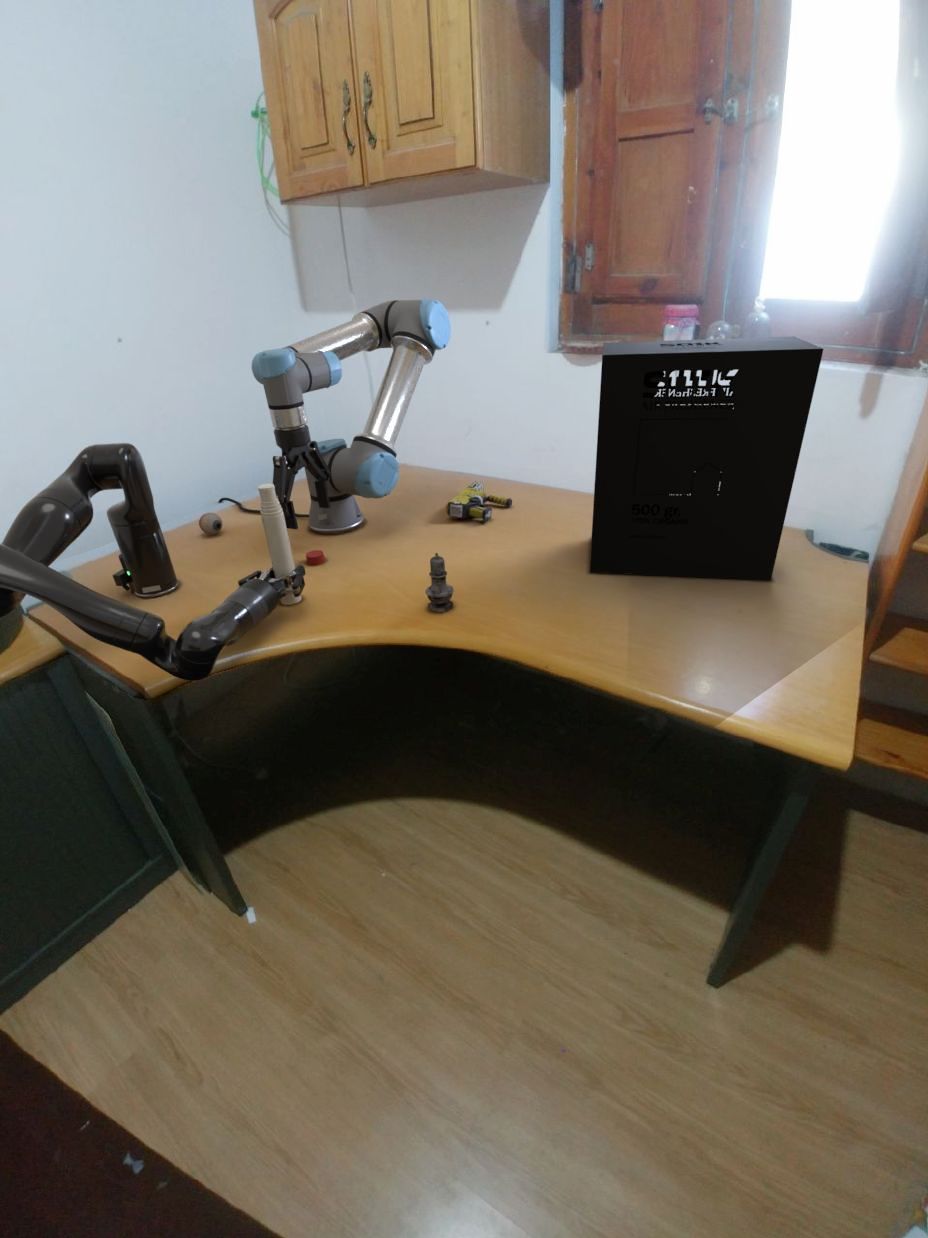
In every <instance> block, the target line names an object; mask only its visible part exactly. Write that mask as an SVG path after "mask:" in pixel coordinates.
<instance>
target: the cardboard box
mask: <svg viewBox="0 0 928 1238" xmlns="http://www.w3.org/2000/svg"><path fill="white" fill-rule="evenodd" d="M601 353H602V355H601V371H600V388H599V389H600V390H599V405H598V423H597V439H596V454H595V455H596V456H595V472H594V473H595V474H594V487H593V488H594V491H593V505H592V506H593V509H592V526H591V540H590V541H591V543H590V559H589V574H614V575H637V576H638V575H641V576H660V577H663V576H664V577H686V578H708V579H709V578H710V579H730V580H731V579H733V580H735V579H736V580H754V581H755V580H756V581H757V580H758V581H772V577H773V573H774V569H775V565H776V560H777V557H778V556H777V555H778V551H779V548H780V543H781V537H782V534H783V529H784V526H785V520H786V515H787V511H788V507H789V502H790V499H791V495H792V489H793V486H794V481H795V476H796V472H797V467H798V464H799V459H800V454H801V451H802V445H803V441H804V436H805V433H806V428H807V424H808V419H809V415H810V412H811V411H810V410H811V406H812V403H813V397H814V392H815V388H816V384H817V380H818V376H819V371H820V366H821V361H822V359H823V358H822V357H823V353H824V347H821V346H818V345H816V344H813V343H811V342H808V341H805V340H804V339H801V338H798V337H796V336H771V337H769V336H768V337H766V336H765V337H737V338H708V339H707V338H706V339H679V340H678V339H675V340H673V339H672V340H649V341H648V340H645V341H617V342H616V341H615V342H614V341H613V342H603V343H602V352H601ZM736 370H737V371H736ZM677 371H678V375H677V376H676V377H675V382H674V383H675V385H672V383H673V376H671V374H672V373H674V372H677ZM685 371H689V372H690V374H689V382H691V385H687V379H688V377H687V375H685ZM699 371H701V373H700V375H698V372H699ZM715 371H716V375H715ZM733 371H736V373H734V375H729V373H730V372H733ZM714 375H715V376H716V377H715V380H714ZM719 377H720V378H719ZM700 381H701V382H705V385H700ZM713 381H715V382H714V383H713ZM719 381H729V382H728V384H725V385H724V384H720V383H719ZM660 383H663V384H664V385H660Z"/></svg>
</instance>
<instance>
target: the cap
mask: <svg viewBox="0 0 928 1238" xmlns="http://www.w3.org/2000/svg"><path fill="white" fill-rule="evenodd" d="M305 558H306V563H307V565H309V566H318V565H321V564H323V563H325V561H326V559H325V553H324V551H323V550H320V549H314V550H310V551H308V552H306V553H305Z"/></svg>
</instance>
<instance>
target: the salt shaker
mask: <svg viewBox="0 0 928 1238" xmlns="http://www.w3.org/2000/svg"><path fill="white" fill-rule="evenodd" d="M429 566H430V572H429V573H428V575H429V577H430V581H431V583H430V584H431V585H430V586H428V587H426V589H425V590H424V592H425V595H426V596H427V599H428V600H429V601H430V602H428V603H427V604H428V606H427V608H428V609H429V610H430V611H432V612H435V613H443V612H448V611H450V610H451V609H453V607H454V603H453V601H452V600H451V599H452V597H453V593H454V591H455V589H454V587H453V586H452V585H450V584H448V583H447V575H448V572H447V571H446V565H445V559H444V558H443V556H440V555H439V553H438V552H435V554H434V556H432V557H431V558H430V559H429Z"/></svg>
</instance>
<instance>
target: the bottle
mask: <svg viewBox="0 0 928 1238" xmlns="http://www.w3.org/2000/svg"><path fill="white" fill-rule="evenodd" d="M257 491H258V493H259V497H260V501H259V503H260V504H259V506H260V508H259V510H261V511H260V512H261V513H260V519H261V522H262V526H263V531H264V535H265V540H266V544H267V548H268V553H269V557H270V561H271V565H272V567H273V570H274V574H275V578H277V577H279V576H281V575H283V574H286V575H288V574H290V573H291V572H292V571H293V570H294V569H295V568H296V565H295V561H294V555H293V551H292V546H291V542H290V536H289V531H288V529H287V526H286V522H285V517H284V512H283V509H282V507H281V505H280V502H279V500H278V498H277V497H278V496H276V492H275V486H274V484H273V483H263V484H260V485H258V486H257ZM283 581H284V580H283ZM290 582H292V578H291V579H290ZM279 601H280V604H282V605H284V606H291V605H296V604H298V603H300V602H301V601H302V594H301V595H300V596H299V597H294V594H286V596H285V597H282V598H280V599H279Z"/></svg>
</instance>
